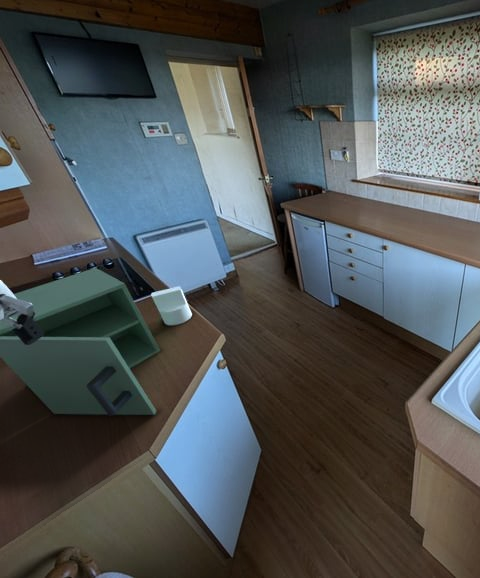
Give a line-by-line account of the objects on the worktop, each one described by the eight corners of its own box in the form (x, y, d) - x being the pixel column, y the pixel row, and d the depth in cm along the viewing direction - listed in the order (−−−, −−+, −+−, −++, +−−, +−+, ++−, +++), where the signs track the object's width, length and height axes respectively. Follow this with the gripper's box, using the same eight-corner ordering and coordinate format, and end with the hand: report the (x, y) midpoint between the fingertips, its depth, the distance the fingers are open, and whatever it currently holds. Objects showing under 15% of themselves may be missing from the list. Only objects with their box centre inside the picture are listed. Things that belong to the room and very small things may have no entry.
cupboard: (160, 351, 96) (124, 283, 82) (55, 411, 77) (-16, 336, 63) (132, 332, 103) (95, 267, 90) (30, 383, 84) (-37, 310, 70)
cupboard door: (138, 436, 71) (82, 360, 57) (31, 435, 71) (-51, 359, 57) (156, 411, 77) (109, 337, 63) (57, 410, 77) (-12, 336, 63)
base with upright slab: (164, 328, 105) (150, 301, 99) (164, 315, 112) (151, 289, 105) (192, 320, 110) (181, 293, 103) (190, 308, 116) (180, 282, 110)
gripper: (-149, 272, 45) (-60, 354, 54) (-34, 272, 45) (36, 353, 54) (-83, 251, 51) (-13, 327, 60) (18, 252, 51) (72, 327, 60)
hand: (10, 340), depth 57 cm, fingers open, 9 cm apart
